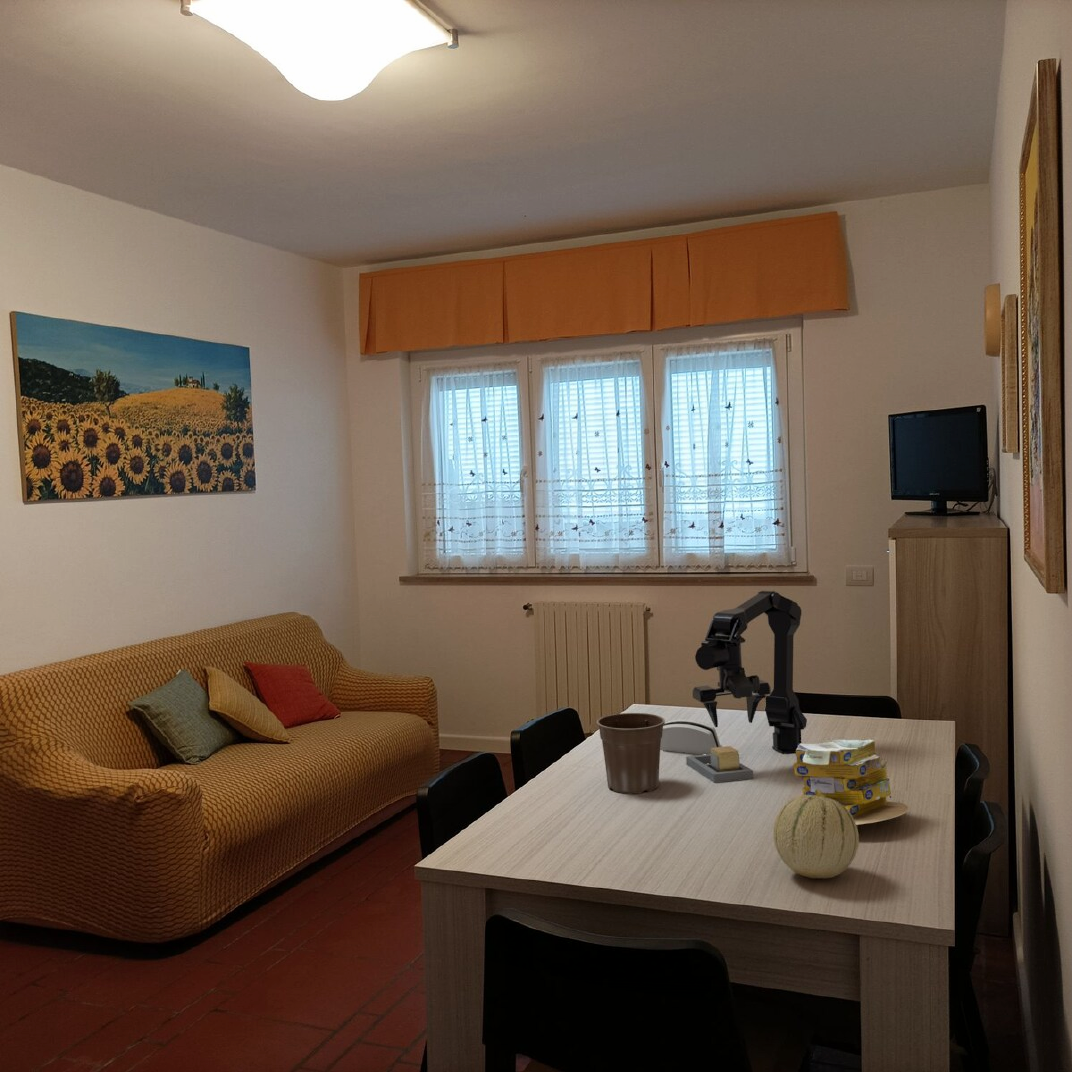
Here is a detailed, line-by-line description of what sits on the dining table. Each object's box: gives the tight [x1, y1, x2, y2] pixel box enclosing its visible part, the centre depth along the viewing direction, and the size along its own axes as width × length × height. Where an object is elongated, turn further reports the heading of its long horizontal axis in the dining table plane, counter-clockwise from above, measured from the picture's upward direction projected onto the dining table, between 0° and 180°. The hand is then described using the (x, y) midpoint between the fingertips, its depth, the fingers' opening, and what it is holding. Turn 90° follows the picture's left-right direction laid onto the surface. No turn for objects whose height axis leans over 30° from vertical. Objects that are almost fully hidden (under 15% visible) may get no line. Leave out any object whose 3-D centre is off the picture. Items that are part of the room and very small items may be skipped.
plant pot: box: [596, 712, 666, 794], centre depth 244 cm, size 16×16×16 cm
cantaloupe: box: [773, 789, 860, 880], centre depth 184 cm, size 15×15×15 cm
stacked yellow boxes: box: [793, 738, 910, 830], centre depth 214 cm, size 25×25×17 cm
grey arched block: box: [660, 719, 723, 755], centre depth 275 cm, size 17×5×10 cm, turn 59°
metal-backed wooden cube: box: [710, 745, 740, 772], centre depth 251 cm, size 6×5×6 cm
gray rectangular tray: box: [685, 754, 754, 784], centre depth 255 cm, size 10×18×2 cm, turn 13°
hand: (733, 724), depth 255 cm, fingers open, 9 cm apart
